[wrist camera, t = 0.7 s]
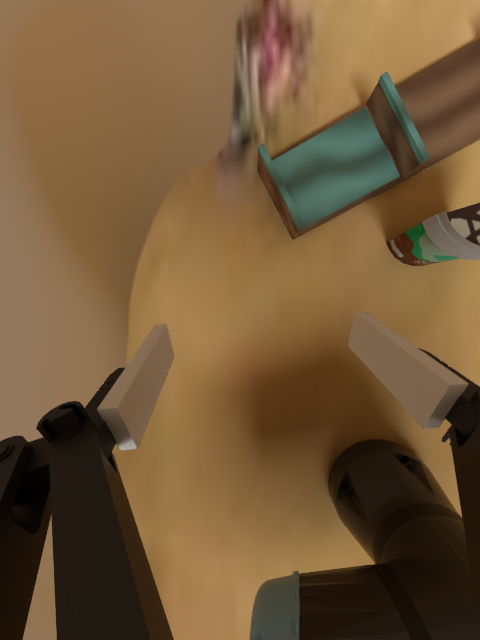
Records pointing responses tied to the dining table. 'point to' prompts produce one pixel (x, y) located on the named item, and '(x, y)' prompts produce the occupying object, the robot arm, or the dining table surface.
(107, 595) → the robot arm
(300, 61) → the dining table surface
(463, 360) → the dining table surface
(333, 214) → the rack
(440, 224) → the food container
